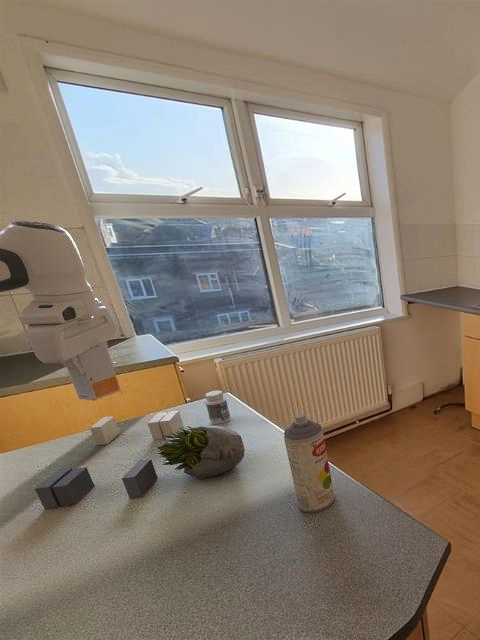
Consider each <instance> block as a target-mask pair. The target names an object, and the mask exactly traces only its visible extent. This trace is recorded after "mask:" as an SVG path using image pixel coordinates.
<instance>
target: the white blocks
mask: <svg viewBox="0 0 480 640" xmlns="http://www.w3.org/2000/svg"><path fill="white" fill-rule="evenodd" d="M146 423H147V424H146V425H147V427H148V430H149V432H150V436H151V438H152V440H153V441H154V440H155V441H156V440H163V439H168V438H167V437H166V436H168V435H170V436H171V435H173V434H177V433H176V432H178V431H182V430H181V429H180V428H182V429H184V428H185V425H184V423H183V419H182V415H181V413H180V410H171V411H163V412H162V411H161V412H157V413H156V414H155V415H154V416H153V417H152V418H151V419H149V421H147V422H146ZM179 427H180V428H179ZM89 429H90V432H91V434H92V438H93V439H94V442H95V444H96V446H104V445H108V444H109V443H111V441H113V440H114V439H115V438H117V436H119V435H120V434H121V432H120V429H119V426H118V424H117V421H116V418H115V416H111V415H110V416H104V417H102V418H100V419H99V420H98V421H96V422H95V423H94V424H92V425H91V426H90V427H89ZM171 433H173V434H171ZM177 435H178V434H177Z"/></svg>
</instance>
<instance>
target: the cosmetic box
mask: <svg viewBox="0 0 480 640" xmlns="http://www.w3.org/2000/svg"><path fill="white" fill-rule="evenodd" d="M108 349H109V348H108ZM108 349H107V346H106V343H105V341H97V342H94V343H92V344H90V348H89V350H87V351H85V352H83V353H81V354H79V355H77V359H78V360H77V361H76V362H77V363H78V364H79V365H80V366H84V369H85V371H86V374H84V375H82V376H80V377H73V376H71V373H70V371H69V369H67V371H68V374H69V376H70V379H71V381H72V385H73V387H74V390H75V393H76V395H77V398H78V399H79V400H84V401H93V402H94V401H96V400H97V401H98V400H100V399H102V398H104V397H108V396H111V395H113V394H115V393H119V392H121V391H122V389H121V386H120V384H119V383H120V382H119V380H118V377H117V374H116V371H115V368H114V365H113V362H112V358H111V355H110V353H109V350H108Z"/></svg>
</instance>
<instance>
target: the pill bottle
mask: <svg viewBox="0 0 480 640" xmlns="http://www.w3.org/2000/svg"><path fill="white" fill-rule="evenodd" d="M204 396H205V406H206V409H207V413H208V416H209V421H210V423H211V424H214V425H218V424H219V425H220V424H225V423H227V422H228V421H230V420H231V414H230V411H229V406H228V401H227V399H226V397H225V396H224V392H223V391H222V390H212V391H209V392H207V393H205V394H204Z"/></svg>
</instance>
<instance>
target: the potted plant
mask: <svg viewBox="0 0 480 640" xmlns="http://www.w3.org/2000/svg"><path fill="white" fill-rule="evenodd" d="M186 427H187V429H184V428H183V429H182V428H180V427H179V428H180V429H181V431H178V432H176V433H177V434H173V433H171V434H173V435H171V436H170V435H168V436H166V437H167V438H163V439H162V440H164V442H160V443H159V445H160V446H157V447H156V448H157V450H159V451H158V453H157V455H158V456H157V457H159V458H164V459H162V460H161V462H162V465H163V466H174V465H178V466H177V467H175V468H174V470H176V471H177V472H178V471H181V470H183V473H184V474H186V475H188V476H190V477H191V478H194V479H201V478H208V477H214V476H219V475H223V474H224V473H226V472H228V471H230V470H232V469H233V468H235V467H237V466H238V465H239V464H241V462H242V460H243V459H244V457H245V446H244V442H243V439H242V436H241V434H240V433H238V431H235V430H232V429H230V428H227V427H224V426H218V425H212V424H210V425H203V426H196V427H191V426H189V425H186Z"/></svg>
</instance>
